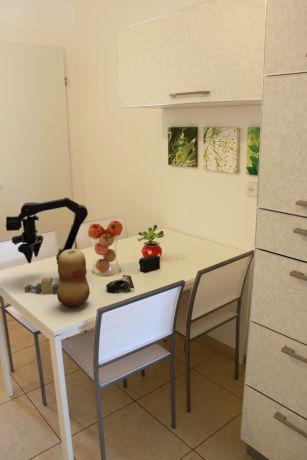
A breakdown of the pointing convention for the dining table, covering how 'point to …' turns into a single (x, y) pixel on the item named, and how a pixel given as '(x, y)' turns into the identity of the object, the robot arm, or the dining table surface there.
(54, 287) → the shaft rig
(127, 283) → the caster wheel
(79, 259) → the butternut squash
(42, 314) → the dining table surface
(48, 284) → the coupler
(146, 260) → the digital camera
